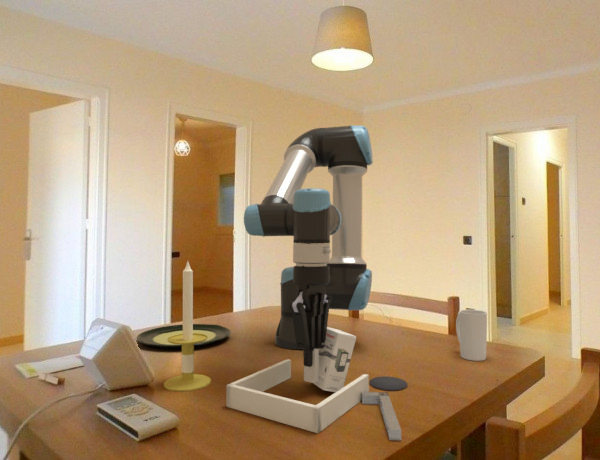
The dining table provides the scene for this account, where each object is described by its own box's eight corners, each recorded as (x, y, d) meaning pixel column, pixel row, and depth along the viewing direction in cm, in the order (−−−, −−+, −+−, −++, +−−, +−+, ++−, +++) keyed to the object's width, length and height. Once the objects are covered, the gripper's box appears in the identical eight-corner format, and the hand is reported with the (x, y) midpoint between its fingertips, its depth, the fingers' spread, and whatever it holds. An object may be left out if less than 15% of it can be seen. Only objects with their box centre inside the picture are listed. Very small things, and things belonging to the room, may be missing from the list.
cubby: (226, 406, 80) (226, 385, 80) (287, 376, 97) (287, 359, 97) (317, 433, 69) (317, 408, 69) (368, 394, 86) (368, 374, 86)
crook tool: (369, 440, 67) (369, 428, 67) (361, 401, 83) (361, 391, 83) (401, 441, 67) (401, 430, 67) (387, 401, 83) (387, 392, 83)
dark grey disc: (363, 385, 91) (363, 384, 91) (378, 375, 98) (378, 374, 98) (399, 393, 87) (399, 392, 87) (412, 382, 93) (412, 380, 93)
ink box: (303, 377, 92) (318, 323, 94) (322, 381, 94) (336, 328, 96) (322, 390, 84) (338, 331, 86) (343, 394, 86) (358, 336, 88)
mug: (493, 360, 110) (492, 313, 110) (471, 362, 108) (470, 314, 108) (467, 350, 119) (466, 307, 120) (446, 352, 117) (446, 308, 118)
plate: (182, 327, 150) (182, 320, 150) (248, 336, 138) (248, 328, 138) (115, 346, 125) (115, 338, 125) (188, 358, 113) (188, 349, 113)
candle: (188, 372, 100) (188, 257, 100) (220, 380, 95) (220, 258, 95) (153, 385, 92) (153, 259, 92) (187, 394, 86) (187, 261, 87)
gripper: (310, 267, 80) (309, 394, 79) (342, 263, 91) (342, 375, 90) (277, 265, 84) (277, 386, 84) (312, 262, 95) (312, 369, 94)
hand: (311, 380), depth 87 cm, fingers closed
